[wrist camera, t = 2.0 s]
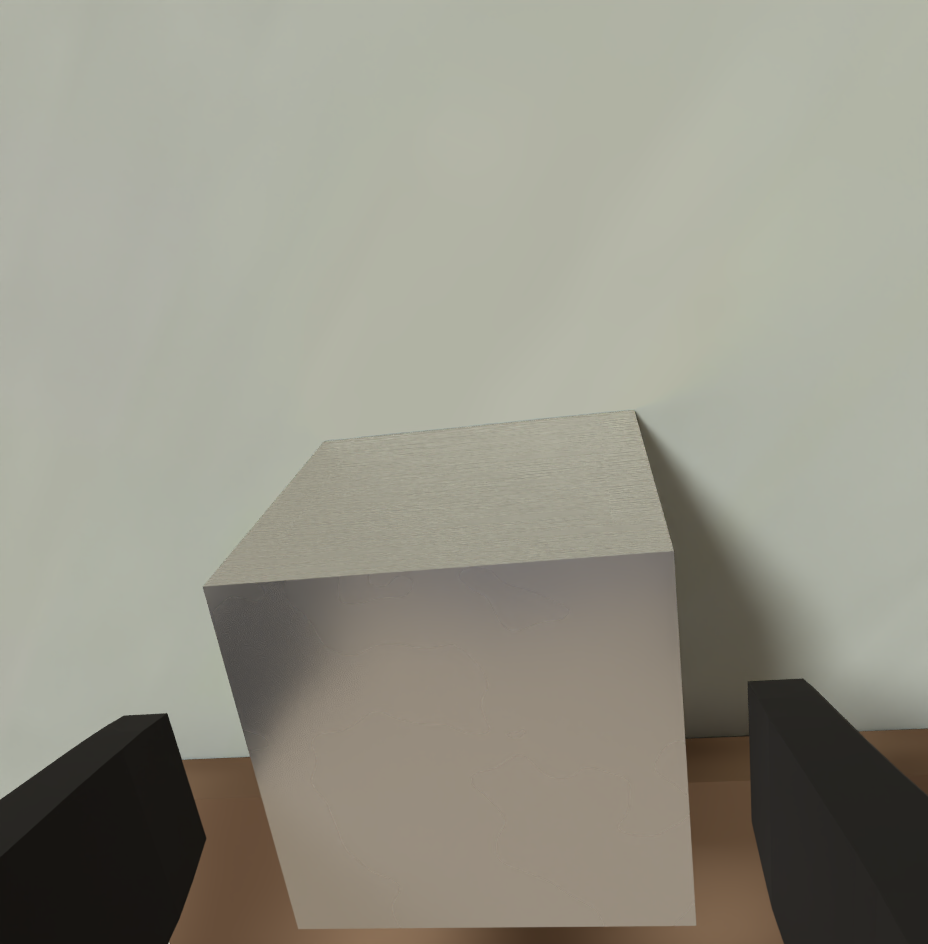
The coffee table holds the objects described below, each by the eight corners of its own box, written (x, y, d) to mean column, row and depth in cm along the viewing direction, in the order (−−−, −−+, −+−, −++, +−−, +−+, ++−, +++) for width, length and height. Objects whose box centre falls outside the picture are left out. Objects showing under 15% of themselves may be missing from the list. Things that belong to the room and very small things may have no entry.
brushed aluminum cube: (634, 410, 14) (673, 551, 9) (654, 683, 16) (696, 925, 11) (324, 441, 15) (203, 586, 10) (377, 697, 16) (298, 929, 12)
